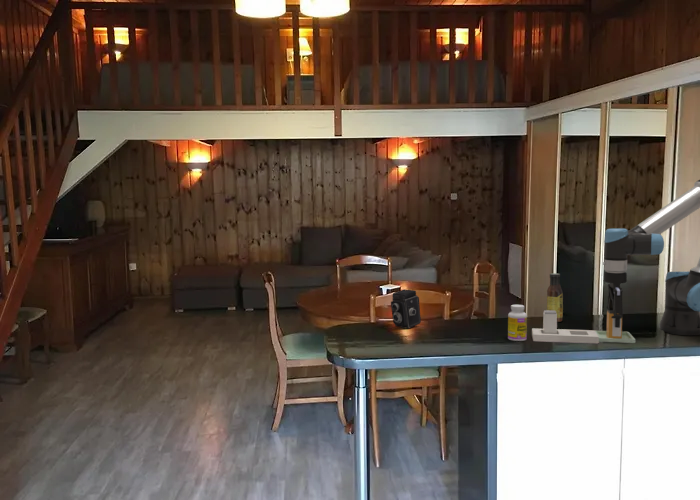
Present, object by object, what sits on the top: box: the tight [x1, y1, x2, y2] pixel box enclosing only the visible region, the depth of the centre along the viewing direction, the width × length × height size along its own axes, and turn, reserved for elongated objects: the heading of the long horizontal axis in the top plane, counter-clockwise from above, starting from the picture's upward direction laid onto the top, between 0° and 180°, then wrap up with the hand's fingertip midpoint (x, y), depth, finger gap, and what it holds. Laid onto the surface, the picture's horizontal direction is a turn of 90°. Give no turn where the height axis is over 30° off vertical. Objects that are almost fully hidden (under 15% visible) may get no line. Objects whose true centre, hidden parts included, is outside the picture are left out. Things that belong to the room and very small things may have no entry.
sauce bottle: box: [546, 272, 564, 323], centre depth 253 cm, size 7×6×20 cm
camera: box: [390, 289, 422, 329], centre depth 248 cm, size 11×11×15 cm
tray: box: [595, 330, 636, 344], centre depth 221 cm, size 12×12×2 cm
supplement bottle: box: [507, 304, 528, 342], centre depth 223 cm, size 7×7×13 cm
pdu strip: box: [531, 327, 600, 344], centre depth 221 cm, size 22×10×3 cm, turn 76°
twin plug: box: [542, 309, 558, 334], centre depth 222 cm, size 4×4×10 cm
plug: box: [606, 309, 623, 338], centre depth 220 cm, size 4×4×10 cm
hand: (614, 332), depth 221 cm, fingers open, 9 cm apart
